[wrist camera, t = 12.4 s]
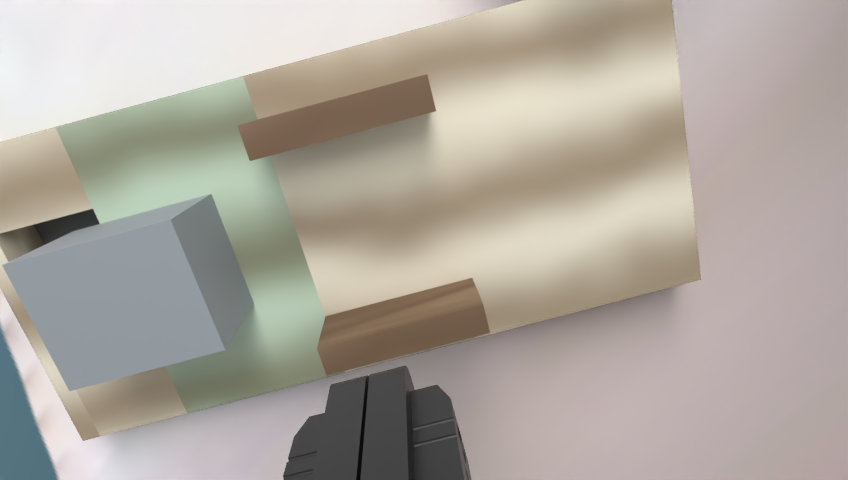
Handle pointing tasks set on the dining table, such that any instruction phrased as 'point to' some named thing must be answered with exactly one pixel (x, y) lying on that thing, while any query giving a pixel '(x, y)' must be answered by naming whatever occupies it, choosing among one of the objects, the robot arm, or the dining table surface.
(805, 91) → the dining table surface
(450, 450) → the robot arm
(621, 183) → the tunnel deck
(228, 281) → the grey block
